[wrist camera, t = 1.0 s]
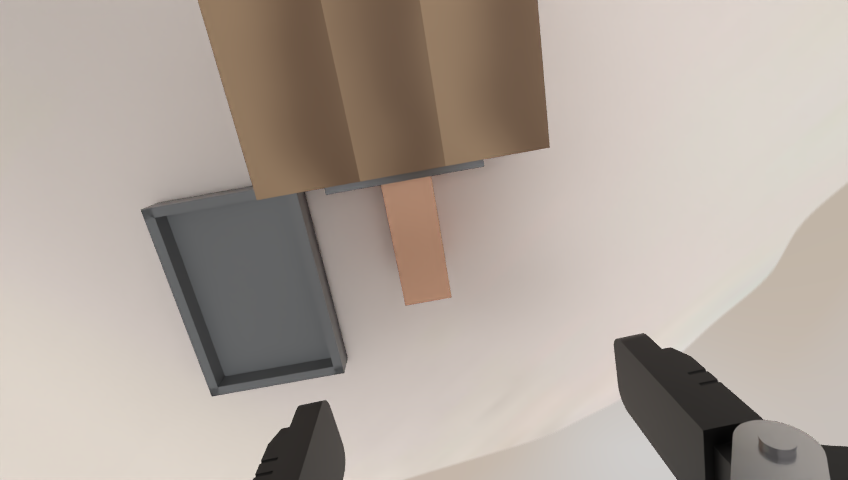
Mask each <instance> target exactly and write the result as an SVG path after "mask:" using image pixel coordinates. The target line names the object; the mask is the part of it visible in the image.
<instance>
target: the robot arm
mask: <svg viewBox="0 0 848 480" xmlns="http://www.w3.org/2000/svg"><path fill="white" fill-rule="evenodd" d="M614 352H615V361H616V370H617V379H618V387H619V392H620V396H621V399H622V401H623V404H624V405H625V408H626V410H627V411H628V413H629V414H630V415H631V417H632V418H633V420H634V421H635V422H636V423H637V425H638V426H639V428H640V429H641V430H642V432H643V433H644V435H645V436H646V437H647V439H648V440H649V442H650V443H651V444H652V446H653V447H654V448H655V450H656V451H657V453H658V454H659V455H660V457H661V458H662V459H663V461H664V462H665V464H666V465H667V466H668V468H669V469H670V470H671V472H672V473H673V475H674V476H675V477H676V479H677V480H848V447H845V446H844V447H843V446H828V445H820V444H819V443H818V442H817V441H816V440H815V439H814V438H813V437H811V436H810V435H808V434H807V433H805V432H803V431H801V430H800V429H797V428H795V427H793V426H790V425H787V424H784V423H780V422H776V421H769V420H763V419H762V418H761V417H760V416H759V415H758V414H757V413H755V412H754V411H753V410H752V409H751V408H750V407H749V406H747V405H746V404H745V403H744V402H743V401H742V400H740V399H739V398H738V397H737V396H736V395H735V394H733V393H732V392H731V391H730V390H729V389H728V388H727V387H725V386H724V385H723V384H722V383H721V382H718V380H717V379H716V378H715V377H714V376H713V375H712V374H711V373H709V372H706V370H705V368H704V367H702V366H701V365H700V364H699V363H698V362H697V361H696V360H694V359H693V358H692V357H691V356H689V355H687V354H684V353H682V352H680V351H678V350H675V349H673V348H671V347H670V348H665V349H661V348H660V347H659V346H658V345H657V344H656V343H655V342H654V341H653V340H652V339H651V338H650V337H649V336H647V335H646V334H644V333H642V334H637V335H633V336H628V337H623V338H619V339H615V341H614ZM261 462H262V463H261V464H260V465H259V467H258V469H257V472H256V474H255V475H256V477H255V478H254V479H253V480H343V477H344V471H345V452H344V447H343V443H342V440H341V437H340V434H339V431H338V428H337V425H336V422H335V420H334V417H333V414H332V411H331V408H330V405H329V403H328V402H327V401H326V400H324V401H319V402H314V403H310V404H305V405H300V406H298V408H297V410H296V412H295V415H294V417H293V420H292V423H291V425H290V427H288V428H283V429H281V430H280V431H279V432H278V434H277V435H276V436H275V437H274V438H273V439H272V441H271V442H270V443H269V444H268V446H267V448H266V451H265V453H264V455H263V458H262V460H261Z"/></svg>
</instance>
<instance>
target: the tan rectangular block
mask: <svg viewBox="0 0 848 480" xmlns="http://www.w3.org/2000/svg"><path fill="white" fill-rule="evenodd" d="M381 188H382V193H383V198H384V203H385V208H386V212H387V217H388V222H389V227H390V232H391V237H392V242H393V247H394V252H395V256H396V261H397V266H398V271H399V276H400V281H401V286H402V291H403V296H404V301H405V305H411V304H417V303H423V302H428V301H434V300H440V299H445V298H451V292H450V286H449V280H448V274H447V268H446V262H445V256H444V250H443V244H442V238H441V232H440V226H439V220H438V214H437V208H436V202H435V196H434V190H433V184H432V178H431V176H428V177H423V178H417V179H412V180H406V181H401V182H395V183H389V184H384V185H381Z"/></svg>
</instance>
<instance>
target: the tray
mask: <svg viewBox="0 0 848 480" xmlns="http://www.w3.org/2000/svg"><path fill="white" fill-rule="evenodd" d="M141 212H142V214H143V217H144V220H145V222H146V225H147V228H148V230H149V233H150V235H151V238H152V241H153V243H154V246H155V249H156V251H157V254H158V256H159V259H160V262H161V264H162V267H163V270H164V272H165V275H166V277H167V280H168V283H169V285H170V288H171V290H172V293H173V296H174V298H175V301H176V304H177V306H178V309H179V311H180V314H181V317H182V319H183V322H184V325H185V327H186V330H187V332H188V335H189V338H190V340H191V343H192V346H193V348H194V351H195V353H196V356H197V359H198V361H199V364H200V367H201V369H202V372H203V374H204V377H205V380H206V382H207V385H208V387H209V390H210V393H211V395H212V396H217V395H222V394H228V393H234V392H239V391H245V390H251V389H256V388H262V387H268V386H273V385H279V384H285V383H290V382H296V381H301V380H307V379H313V378H318V377H324V376H330V375H335V374H341V373H344V372H345V367H346V363H347V354H346V350H345V346H344V342H343V339H342V335H341V331H340V327H339V323H338V319H337V316H336V312H335V308H334V304H333V300H332V296H331V292H330V289H329V285H328V281H327V277H326V273H325V269H324V266H323V262H322V258H321V254H320V250H319V246H318V242H317V239H316V235H315V231H314V227H313V223H312V219H311V215H310V212H309V208H308V204H307V200H306V196H305V192H299V193H294V194H288V195H283V196H277V197H272V198H266V199H261V200H257V199H256V196H255V192H254V189H253V186H250V187H244V188H239V189H233V190H227V191H222V192H216V193H211V194H205V195H200V196H194V197H189V198H183V199H178V200H172V201H166V202H161V203H157V204H154V205H151V206H149V207H146V208H144V209H141Z"/></svg>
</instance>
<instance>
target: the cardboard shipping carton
mask: <svg viewBox="0 0 848 480" xmlns="http://www.w3.org/2000/svg"><path fill="white" fill-rule="evenodd" d="M198 3H199V6H200V10H201V13H202V16H203V20H204V23H205V26H206V30H207V33H208V37H209V40H210V43H211V47H212V50H213V54H214V57H215V60H216V64H217V67H218V70H219V74H220V77H221V81H222V84H223V87H224V91H225V94H226V98H227V101H228V104H229V108H230V111H231V114H232V118H233V121H234V125H235V128H236V131H237V135H238V138H239V142H240V145H241V148H242V152H243V155H244V158H245V162H246V165H247V169H248V172H249V175H250V179H251V182H252V186H253V189H254V192H255V196H256V199H257V200H261V199H266V198H272V197H277V196H283V195H288V194H294V193H299V192H305V191H311V190H316V189H322V188H324V189H325V193H326V195H328V194H334V193H339V192H345V191H350V190H356V189H362V188H367V187H373V186H378V185H384V184H389V183H395V182H401V181H406V180H412V179H417V178H423V177H428V176H434V175H439V174H445V173H451V172H456V171H462V170H467V169H473V168H478V167H484V161H483V159H488V158H494V157H500V156H505V155H511V154H516V153H522V152H527V151H533V150H538V149H544V148H550V146H549V134H548V122H547V110H546V98H545V86H544V74H543V61H542V49H541V37H540V25H539V13H538V1H537V0H198Z"/></svg>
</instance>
